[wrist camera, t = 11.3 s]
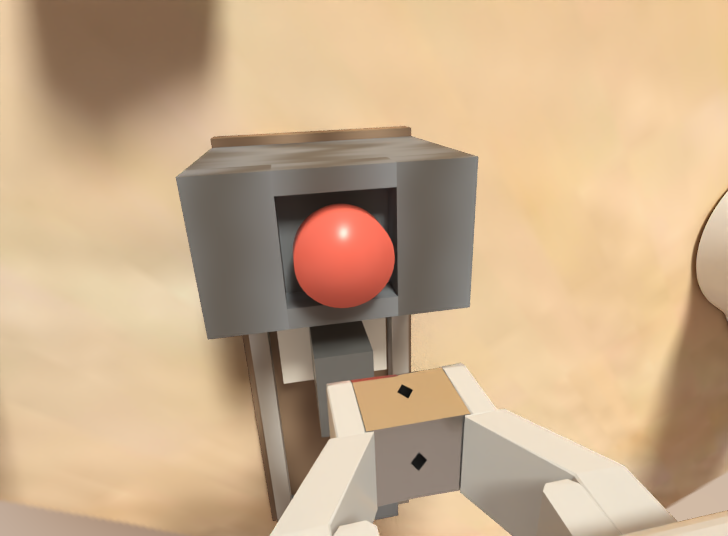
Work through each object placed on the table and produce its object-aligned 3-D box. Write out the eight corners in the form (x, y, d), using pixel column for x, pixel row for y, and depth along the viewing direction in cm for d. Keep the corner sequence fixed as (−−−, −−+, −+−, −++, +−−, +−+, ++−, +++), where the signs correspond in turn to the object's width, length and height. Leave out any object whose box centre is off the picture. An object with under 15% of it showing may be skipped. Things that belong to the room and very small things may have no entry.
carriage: (376, 275, 30) (411, 337, 22) (379, 350, 32) (410, 430, 25) (273, 287, 29) (272, 355, 21) (283, 363, 31) (285, 451, 24)
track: (409, 126, 29) (485, 143, 18) (409, 480, 40) (456, 617, 30) (214, 136, 27) (173, 163, 16) (273, 505, 38) (271, 661, 28)
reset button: (385, 199, 18) (393, 208, 17) (386, 287, 20) (395, 302, 18) (287, 207, 18) (288, 217, 16) (297, 297, 19) (299, 313, 18)
